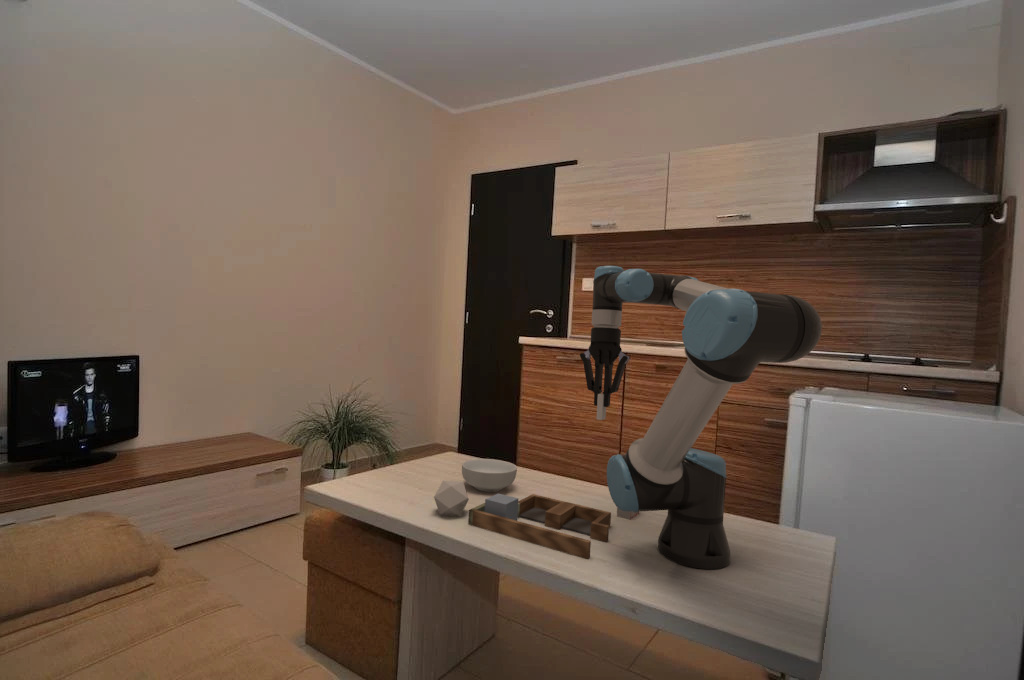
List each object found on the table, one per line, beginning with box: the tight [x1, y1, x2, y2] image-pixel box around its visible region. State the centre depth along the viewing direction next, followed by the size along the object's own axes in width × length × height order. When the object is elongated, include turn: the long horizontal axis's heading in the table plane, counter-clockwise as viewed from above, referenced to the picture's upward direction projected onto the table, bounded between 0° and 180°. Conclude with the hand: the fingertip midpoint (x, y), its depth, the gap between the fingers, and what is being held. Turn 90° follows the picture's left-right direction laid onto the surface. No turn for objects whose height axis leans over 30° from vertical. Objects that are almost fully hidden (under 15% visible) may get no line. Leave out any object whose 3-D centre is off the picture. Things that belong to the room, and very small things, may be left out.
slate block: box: [484, 493, 519, 521], centre depth 125 cm, size 6×6×6 cm
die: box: [433, 480, 469, 517], centre depth 130 cm, size 8×9×10 cm
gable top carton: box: [616, 506, 640, 520], centre depth 136 cm, size 4×7×10 cm, turn 146°
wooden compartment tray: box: [467, 493, 612, 560], centre depth 124 cm, size 31×22×4 cm
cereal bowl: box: [461, 458, 518, 493], centre depth 154 cm, size 17×17×7 cm
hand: (601, 419), depth 129 cm, fingers closed
